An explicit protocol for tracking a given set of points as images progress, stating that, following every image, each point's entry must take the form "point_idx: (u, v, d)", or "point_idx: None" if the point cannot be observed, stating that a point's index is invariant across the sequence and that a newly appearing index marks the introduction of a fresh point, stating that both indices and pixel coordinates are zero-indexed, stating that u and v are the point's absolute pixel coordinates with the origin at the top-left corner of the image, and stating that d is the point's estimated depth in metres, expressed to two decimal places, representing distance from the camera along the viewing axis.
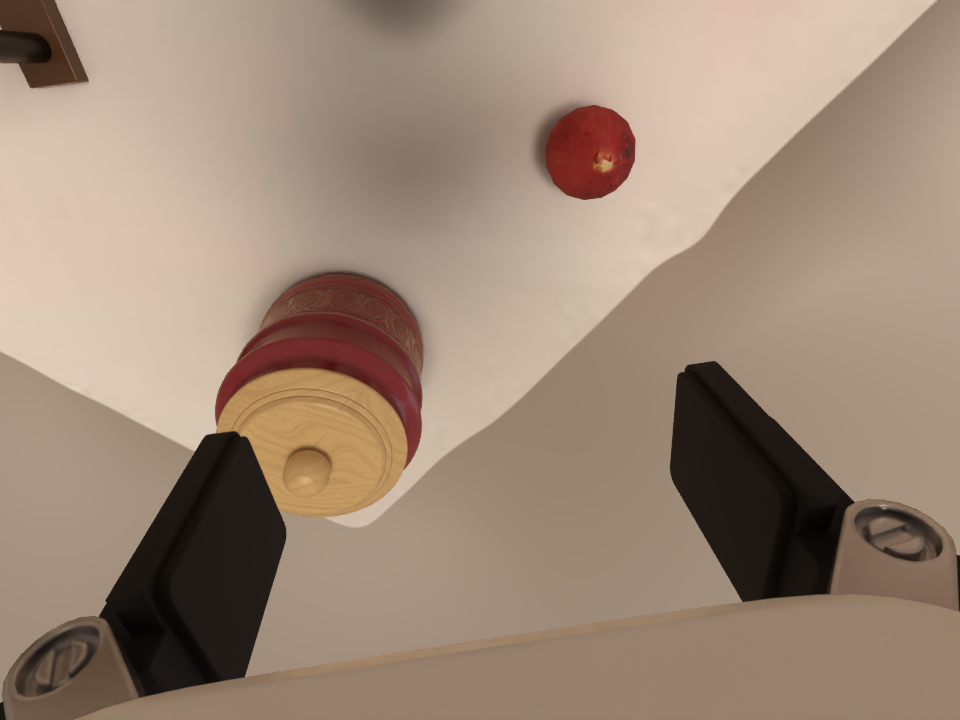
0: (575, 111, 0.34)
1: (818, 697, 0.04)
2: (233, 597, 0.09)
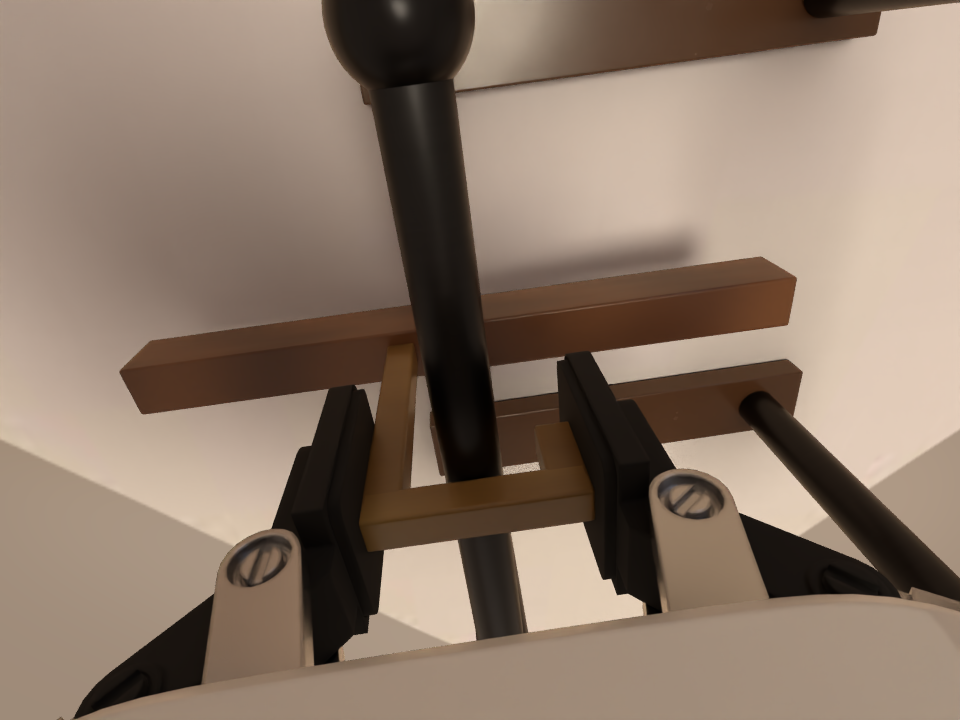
0: None
1: (818, 697, 0.04)
2: None
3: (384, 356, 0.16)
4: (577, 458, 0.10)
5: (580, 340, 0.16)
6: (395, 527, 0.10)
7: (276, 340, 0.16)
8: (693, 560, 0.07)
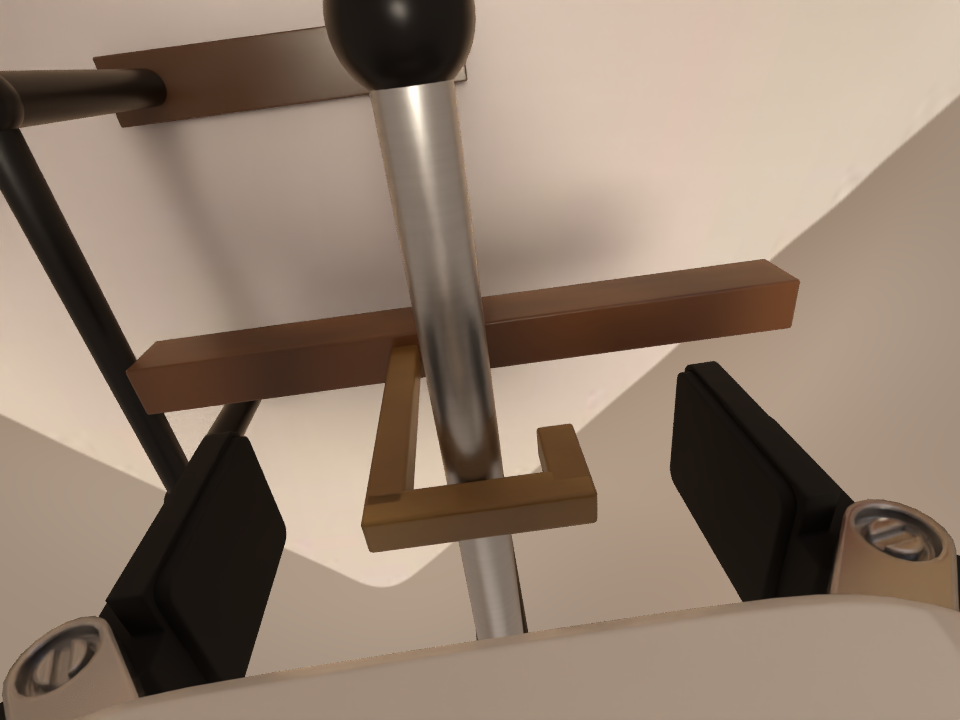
0: None
1: (818, 697, 0.04)
2: (233, 597, 0.09)
3: (388, 357, 0.16)
4: (579, 460, 0.10)
5: (583, 342, 0.16)
6: (398, 528, 0.10)
7: (280, 341, 0.16)
8: None
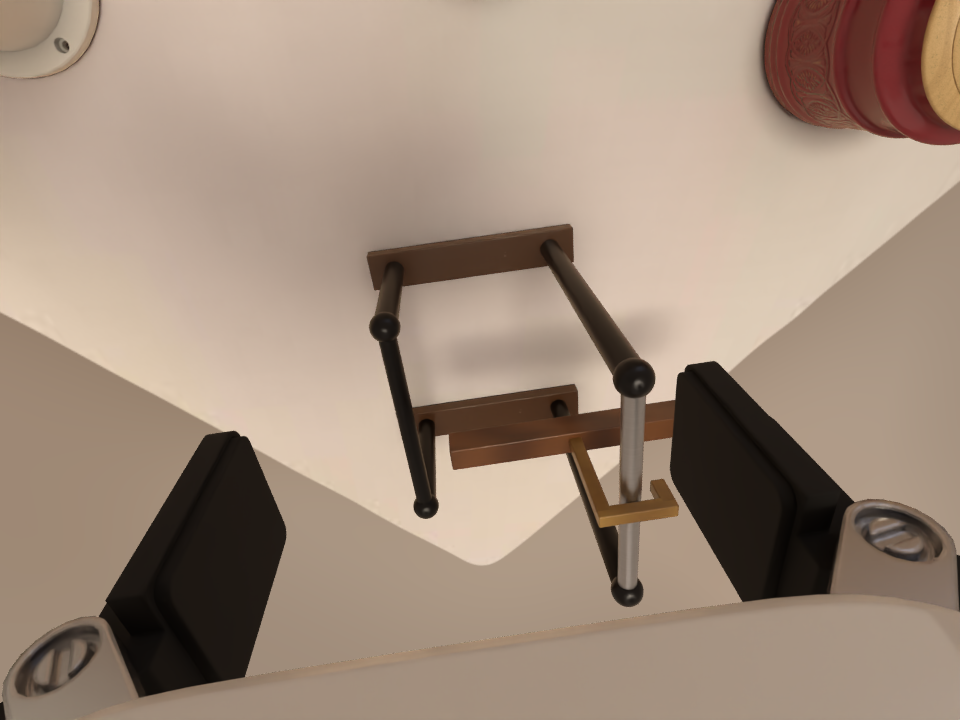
0: None
1: (818, 697, 0.04)
2: (233, 597, 0.09)
3: (567, 443, 0.35)
4: (670, 494, 0.29)
5: (655, 434, 0.35)
6: (611, 519, 0.29)
7: (516, 435, 0.35)
8: None
